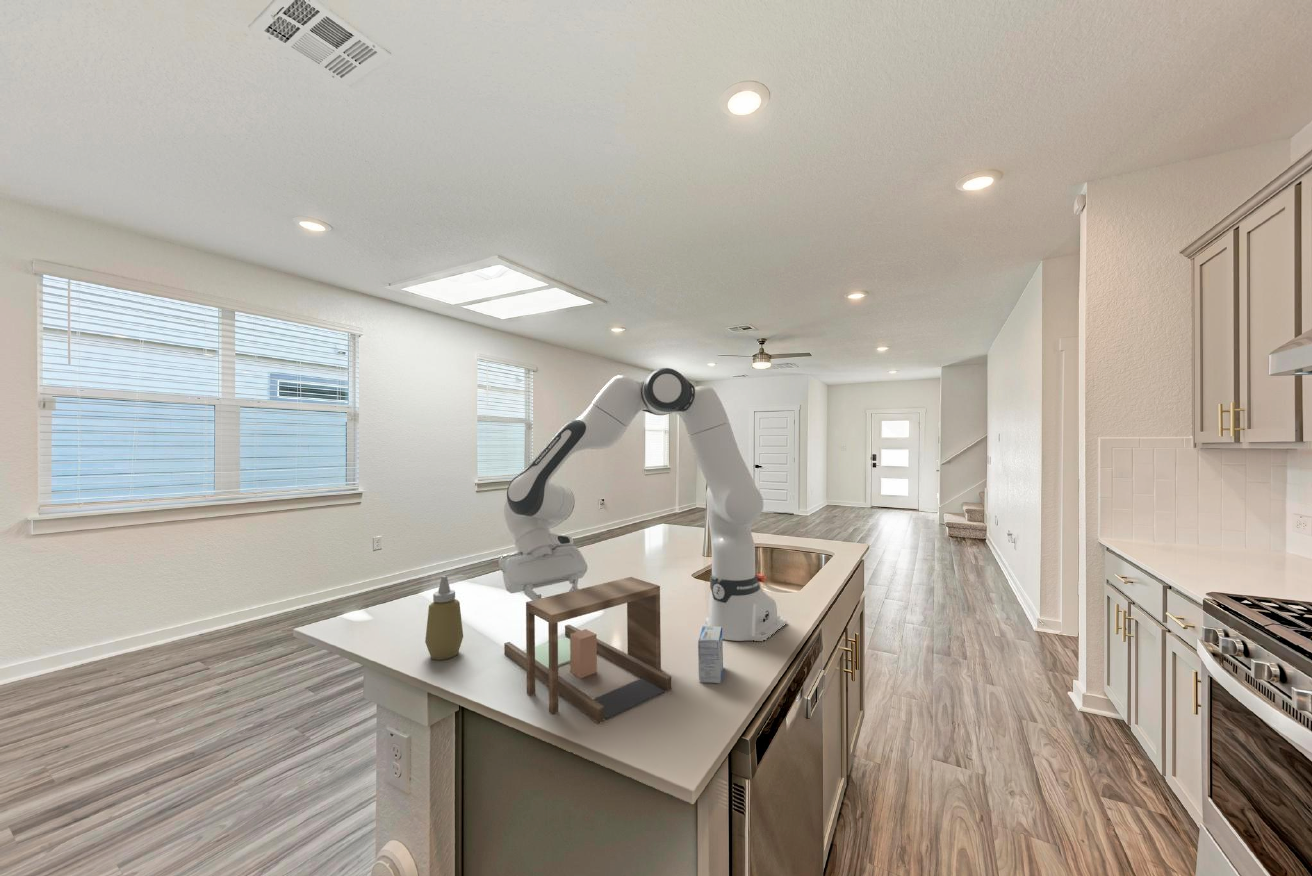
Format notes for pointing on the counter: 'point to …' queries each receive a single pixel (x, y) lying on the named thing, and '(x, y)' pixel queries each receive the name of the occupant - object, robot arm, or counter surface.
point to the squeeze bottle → (444, 623)
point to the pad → (563, 652)
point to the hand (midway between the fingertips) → (558, 599)
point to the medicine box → (710, 654)
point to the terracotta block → (583, 653)
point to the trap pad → (628, 697)
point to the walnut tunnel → (588, 600)
